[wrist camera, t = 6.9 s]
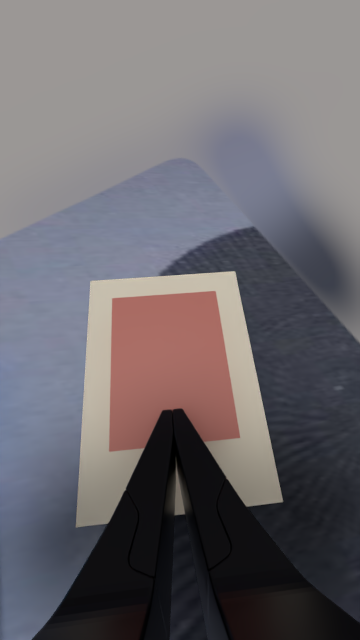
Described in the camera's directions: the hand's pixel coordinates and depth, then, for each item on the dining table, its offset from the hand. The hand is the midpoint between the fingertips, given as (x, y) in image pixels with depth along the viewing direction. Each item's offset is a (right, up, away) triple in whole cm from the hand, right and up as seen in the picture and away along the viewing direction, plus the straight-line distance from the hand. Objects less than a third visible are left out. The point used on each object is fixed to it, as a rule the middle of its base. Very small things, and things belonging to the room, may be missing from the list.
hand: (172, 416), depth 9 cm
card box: (0, -3, +4) cm, 5 cm away
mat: (0, 0, +7) cm, 7 cm away
